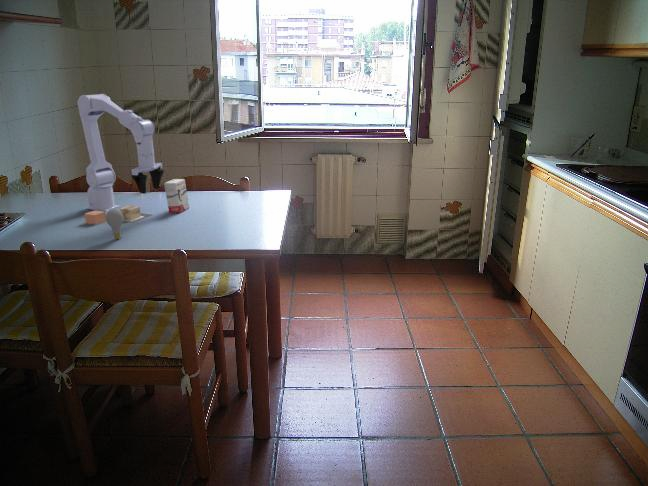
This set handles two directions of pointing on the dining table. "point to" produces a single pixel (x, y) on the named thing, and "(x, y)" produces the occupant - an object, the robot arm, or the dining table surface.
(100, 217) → the terracotta block
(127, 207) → the beech block
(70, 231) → the dining table surface
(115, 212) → the light bulb
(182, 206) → the ink box
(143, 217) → the grey flat panel
